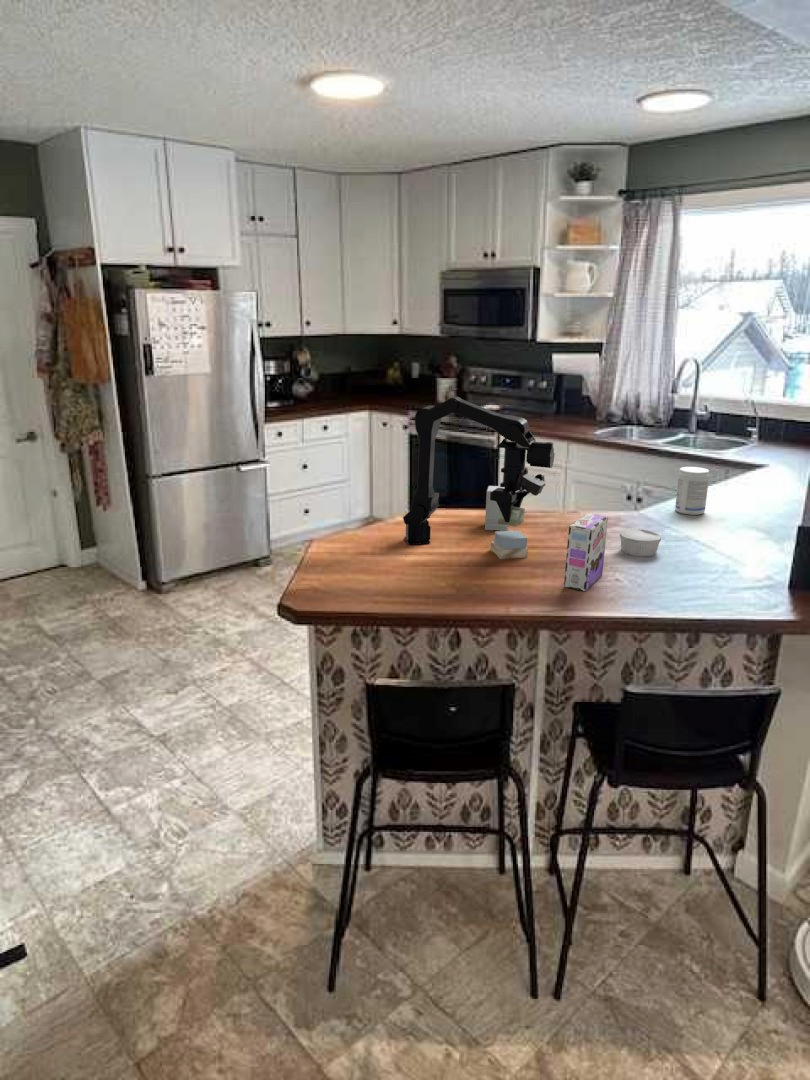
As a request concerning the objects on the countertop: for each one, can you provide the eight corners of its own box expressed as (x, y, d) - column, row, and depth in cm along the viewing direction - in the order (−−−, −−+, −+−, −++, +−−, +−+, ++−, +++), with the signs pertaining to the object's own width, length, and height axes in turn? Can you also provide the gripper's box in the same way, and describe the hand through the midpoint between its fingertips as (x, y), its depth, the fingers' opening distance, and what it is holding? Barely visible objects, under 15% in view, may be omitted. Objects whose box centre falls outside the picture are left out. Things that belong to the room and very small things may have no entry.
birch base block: (500, 560, 205) (500, 550, 204) (490, 551, 212) (490, 541, 211) (527, 558, 206) (528, 548, 205) (516, 549, 214) (517, 539, 213)
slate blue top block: (502, 549, 204) (503, 539, 203) (494, 541, 211) (495, 531, 210) (526, 548, 206) (527, 537, 205) (517, 540, 212) (518, 530, 211)
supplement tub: (709, 512, 251) (715, 469, 246) (696, 517, 244) (702, 474, 240) (682, 506, 257) (687, 464, 252) (669, 511, 251) (674, 469, 246)
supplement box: (508, 531, 228) (510, 492, 224) (484, 530, 229) (485, 490, 225) (509, 524, 235) (511, 486, 231) (486, 523, 236) (488, 485, 232)
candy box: (585, 592, 182) (591, 528, 177) (562, 587, 185) (568, 524, 180) (603, 575, 193) (609, 515, 188) (581, 571, 196) (586, 511, 191)
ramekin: (665, 551, 212) (668, 534, 210) (648, 561, 204) (650, 543, 202) (629, 543, 219) (631, 526, 217) (611, 552, 211) (613, 534, 210)
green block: (516, 526, 202) (517, 512, 201) (497, 523, 205) (498, 509, 204) (523, 521, 207) (524, 508, 206) (505, 518, 210) (506, 505, 208)
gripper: (530, 475, 189) (527, 532, 194) (553, 461, 205) (549, 515, 210) (490, 469, 194) (487, 526, 199) (515, 457, 210) (512, 509, 215)
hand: (511, 519), depth 206 cm, fingers closed on green block, 5 cm apart
